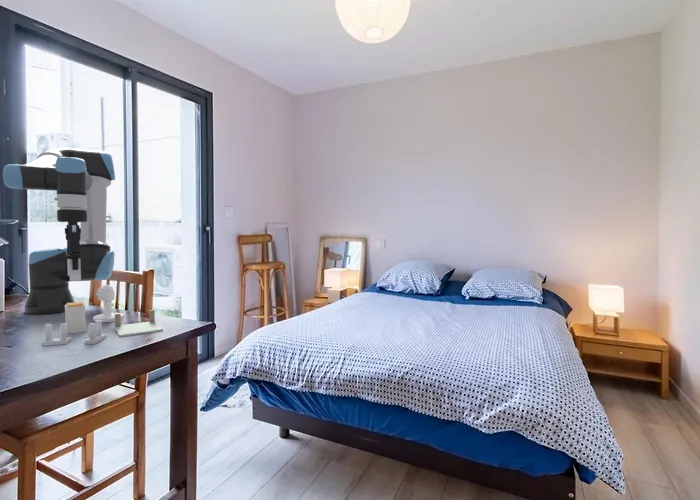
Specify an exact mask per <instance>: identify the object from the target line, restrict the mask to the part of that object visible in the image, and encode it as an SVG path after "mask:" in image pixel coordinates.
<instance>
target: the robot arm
mask: <svg viewBox="0 0 700 500" xmlns="http://www.w3.org/2000/svg"><path fill="white" fill-rule="evenodd" d="M2 178H3V184H4V186H6V188H9V189H14V190H21V191H22V190H29V191H30V190H32V191H33V190H35V191H55V192H56V197H54V198H53V199H54V201H57V202H56V207H57V208H59V209H57V210H56V215H57V216H56V217H57V218H56V220H57V222H59V223H61V222H62V223H67V224H66V227H65V228H64V234H65V240H66V247H55V248H54V247H52V248H47V249H45V248H44V249H39V250H33V251H31V253H29V256H28V274H29V276H28V277H29V293H28V295H27V298H26V301H25V305H24V306H23V307H24V313H25V314H27V315H28V314H29V315H49V314H57V313H62V312H64V313H65V305H67V303H73V302H75V300H74V298H73V295H72V293H71V291H70V289H69V288H70V287H69V285H70V284H69V282H87V281H89V282H90V281H91V282H93V281H95V282H98V281H106V280H108V279H110V278H111V276H112V275H113V272H114V271H113V270H114V264H115V256H116V255H115V251H114V250H112V249H111V246H110V245H109V244H108V243H107V196H108V195H107V188H108V187H110V186H111V185H112V181H115V180H116V173H115V166H114V161H113V156H112V154H111V153H110V152H108V151H104V150H103V151H102V150H100V149H99V150H98V149H97V150H92V149H82V148H71V147H63V148H55V149H49V150H46V151H44V152H41V153H39V154H38V155H37V157H36V158H35V159H34V160H31V161H29V162H27V163H25V164H18V163H14V164H13V163H12V164H11V163H9V164H5V166H3V170H2ZM78 223H80V225H79V224H78Z"/></svg>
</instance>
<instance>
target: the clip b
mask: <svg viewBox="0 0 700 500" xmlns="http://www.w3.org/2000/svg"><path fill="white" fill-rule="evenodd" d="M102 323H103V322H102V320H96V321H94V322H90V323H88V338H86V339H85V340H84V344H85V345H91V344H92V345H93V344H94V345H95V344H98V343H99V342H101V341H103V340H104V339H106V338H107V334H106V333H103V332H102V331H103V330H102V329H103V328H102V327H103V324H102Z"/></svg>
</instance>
